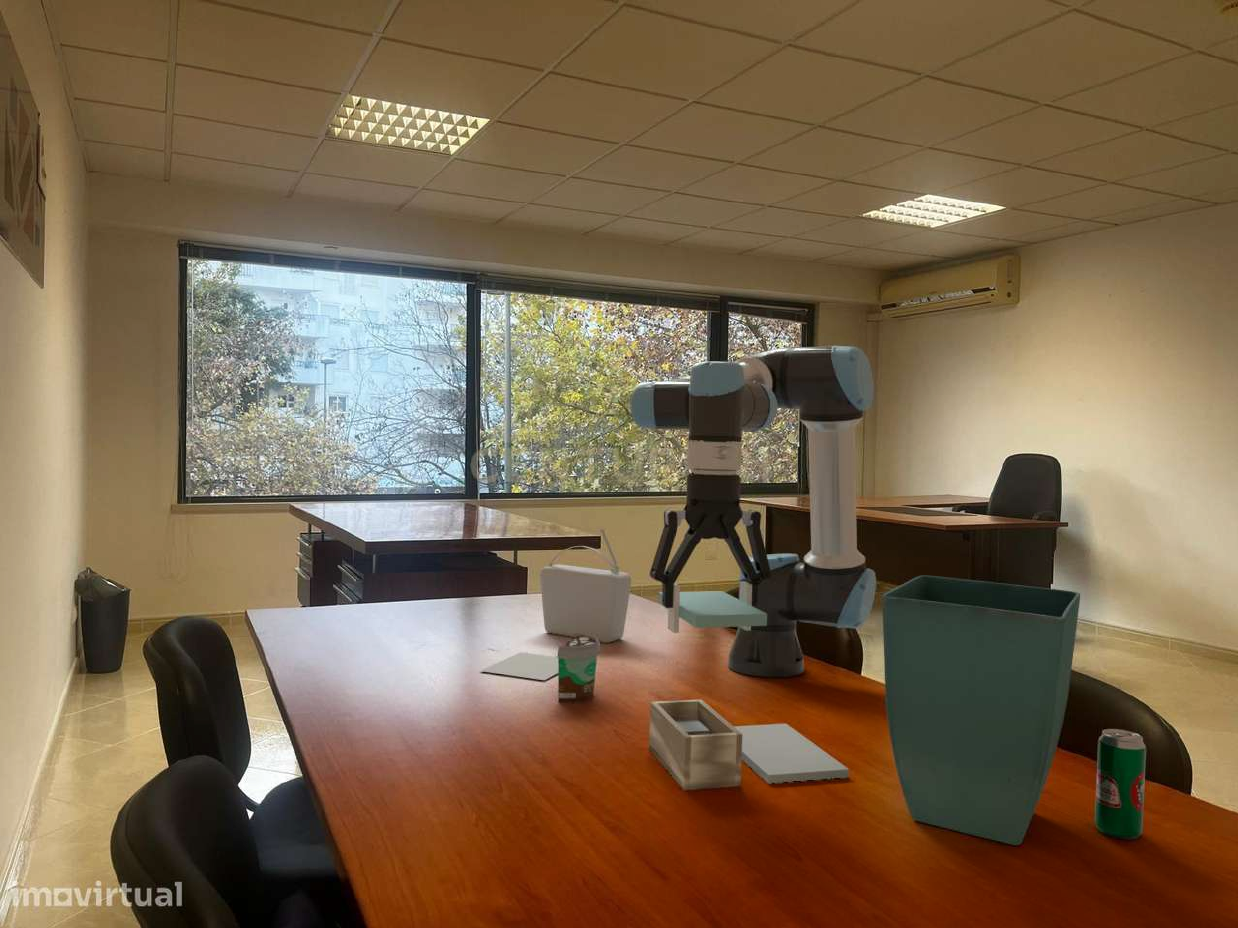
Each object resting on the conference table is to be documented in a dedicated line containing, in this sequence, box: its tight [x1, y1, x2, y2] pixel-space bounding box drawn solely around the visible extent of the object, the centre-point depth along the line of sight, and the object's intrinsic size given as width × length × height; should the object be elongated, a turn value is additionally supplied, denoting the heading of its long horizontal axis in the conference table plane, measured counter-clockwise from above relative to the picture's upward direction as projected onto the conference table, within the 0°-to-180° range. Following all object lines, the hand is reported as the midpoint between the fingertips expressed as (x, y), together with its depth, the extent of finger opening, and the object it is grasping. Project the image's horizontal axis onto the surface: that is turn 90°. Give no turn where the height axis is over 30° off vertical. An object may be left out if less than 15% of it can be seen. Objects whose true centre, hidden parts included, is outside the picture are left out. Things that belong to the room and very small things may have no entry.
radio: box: [539, 528, 632, 644], centre depth 207 cm, size 22×8×25 cm, turn 58°
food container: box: [556, 632, 602, 703], centre depth 159 cm, size 12×6×10 cm, turn 168°
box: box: [648, 698, 743, 791], centre depth 127 cm, size 8×16×7 cm, turn 15°
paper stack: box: [480, 651, 558, 681], centre depth 184 cm, size 23×25×1 cm
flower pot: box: [881, 575, 1081, 846], centre depth 111 cm, size 20×20×28 cm
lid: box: [658, 590, 767, 629], centre depth 127 cm, size 10×17×2 cm, turn 14°
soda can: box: [1094, 728, 1147, 841], centre depth 109 cm, size 5×5×12 cm
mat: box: [733, 723, 850, 785], centre depth 132 cm, size 12×20×1 cm, turn 15°
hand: (709, 629), depth 127 cm, fingers closed on lid, 10 cm apart
